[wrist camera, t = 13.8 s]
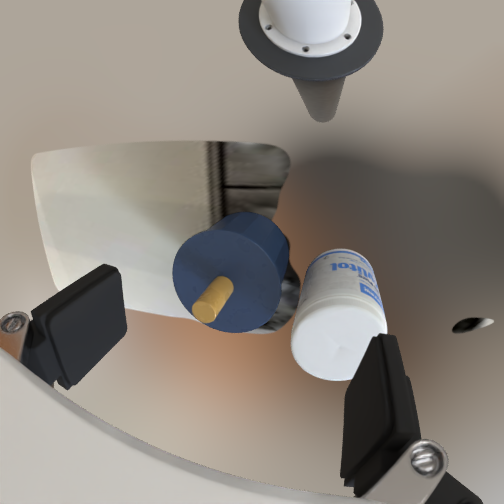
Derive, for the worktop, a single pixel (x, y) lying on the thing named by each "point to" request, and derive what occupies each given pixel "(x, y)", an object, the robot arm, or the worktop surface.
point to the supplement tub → (336, 315)
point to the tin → (259, 235)
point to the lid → (226, 280)
